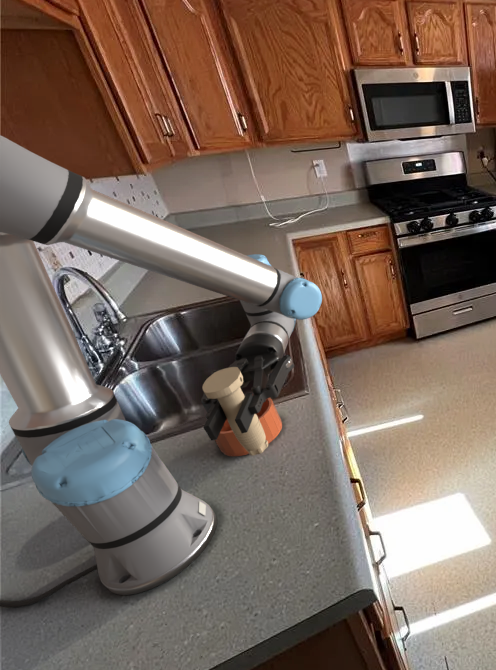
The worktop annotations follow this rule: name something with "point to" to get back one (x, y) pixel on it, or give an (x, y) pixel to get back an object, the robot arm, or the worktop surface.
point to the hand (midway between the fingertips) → (225, 429)
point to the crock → (268, 421)
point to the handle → (235, 407)
